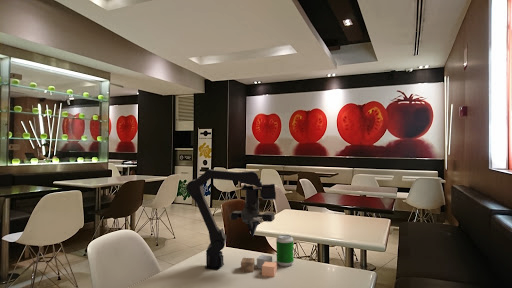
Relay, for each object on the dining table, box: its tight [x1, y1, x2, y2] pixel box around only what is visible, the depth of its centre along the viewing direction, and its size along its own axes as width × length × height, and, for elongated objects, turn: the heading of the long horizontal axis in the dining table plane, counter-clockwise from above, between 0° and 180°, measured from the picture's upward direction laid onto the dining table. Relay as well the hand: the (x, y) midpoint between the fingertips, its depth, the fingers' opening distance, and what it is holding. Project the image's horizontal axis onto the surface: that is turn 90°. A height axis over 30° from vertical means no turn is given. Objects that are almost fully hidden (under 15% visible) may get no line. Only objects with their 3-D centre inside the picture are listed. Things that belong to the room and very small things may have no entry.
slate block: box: [256, 254, 273, 269], centre depth 132 cm, size 5×5×4 cm
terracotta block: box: [261, 261, 278, 278], centre depth 124 cm, size 5×5×4 cm
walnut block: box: [240, 257, 255, 273], centre depth 129 cm, size 5×5×4 cm
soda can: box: [276, 234, 295, 267], centre depth 134 cm, size 8×8×12 cm
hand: (252, 235), depth 132 cm, fingers closed
